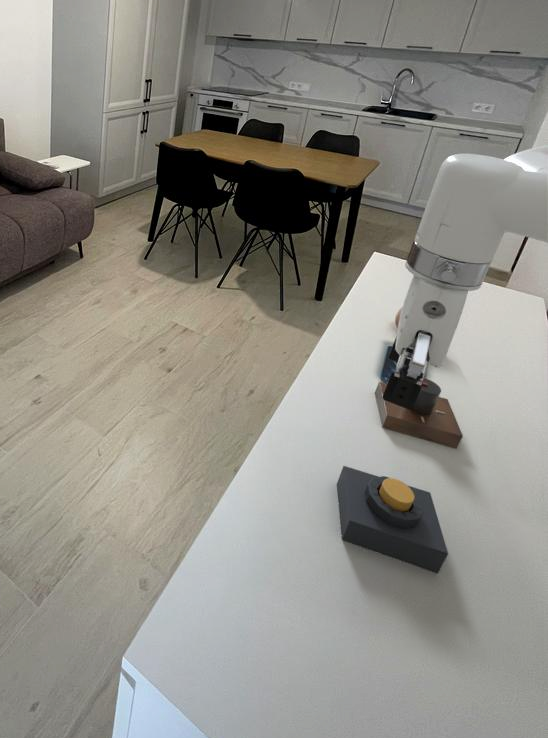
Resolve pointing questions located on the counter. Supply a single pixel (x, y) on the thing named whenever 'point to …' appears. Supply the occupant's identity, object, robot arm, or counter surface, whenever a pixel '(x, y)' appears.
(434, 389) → the dial
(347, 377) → the counter surface
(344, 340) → the counter surface
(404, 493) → the yellow button cap
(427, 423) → the dial panel
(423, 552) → the button base
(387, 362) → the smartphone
